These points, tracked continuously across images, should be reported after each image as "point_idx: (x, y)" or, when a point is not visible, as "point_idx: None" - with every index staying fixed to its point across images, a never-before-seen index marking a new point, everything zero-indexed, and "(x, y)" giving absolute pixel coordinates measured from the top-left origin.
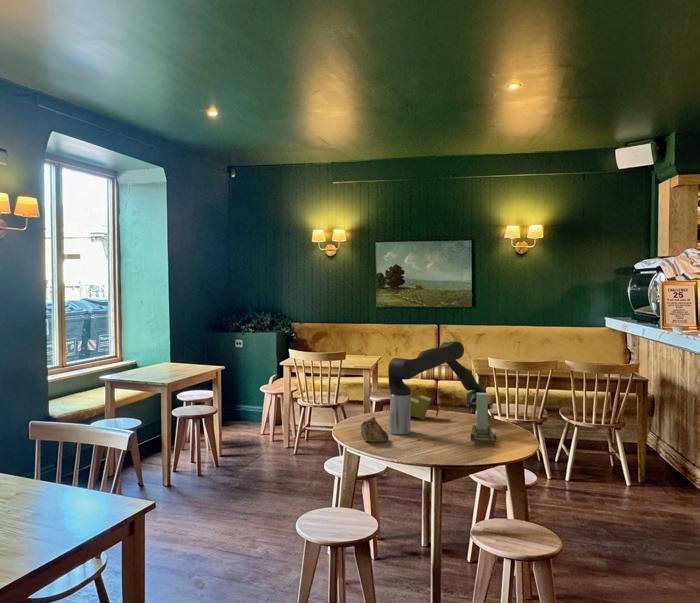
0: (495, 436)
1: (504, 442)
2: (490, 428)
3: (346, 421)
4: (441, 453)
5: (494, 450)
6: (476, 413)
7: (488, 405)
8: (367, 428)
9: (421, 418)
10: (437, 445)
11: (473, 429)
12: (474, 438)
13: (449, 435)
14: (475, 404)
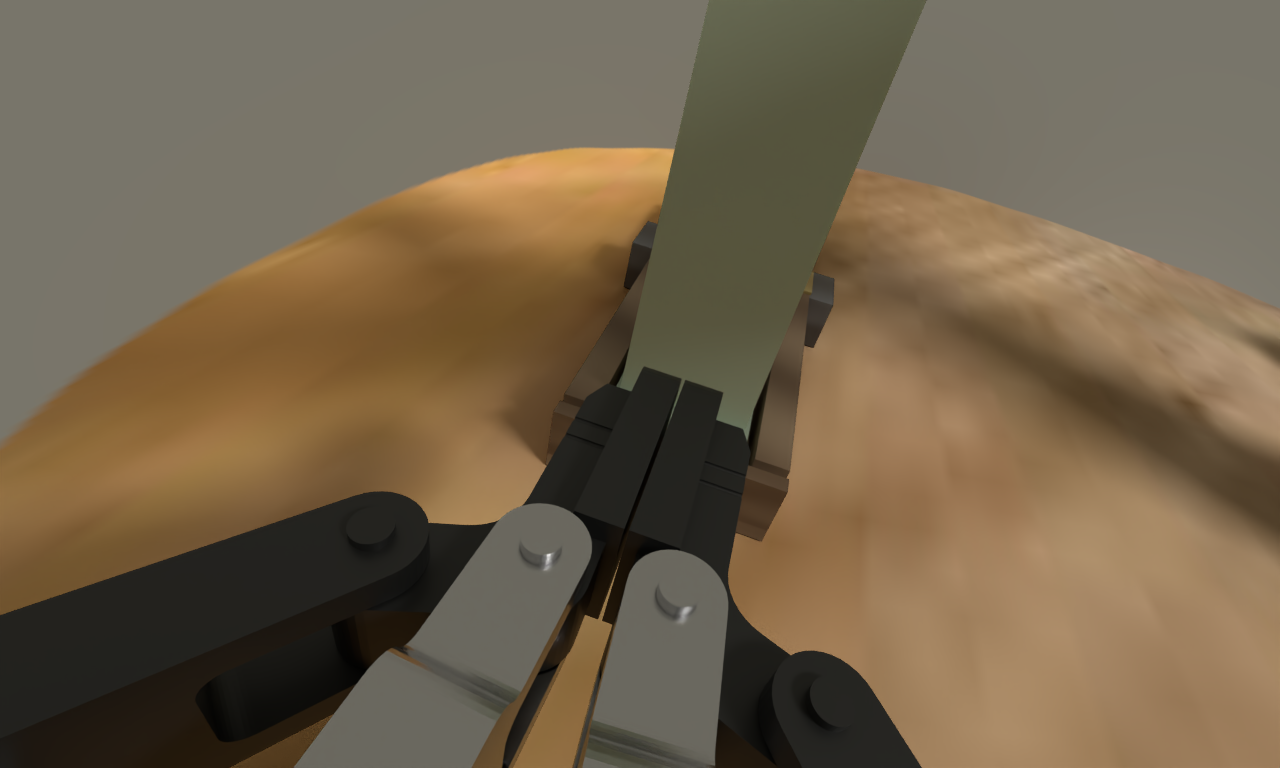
0: (652, 226)
1: (579, 250)
2: (596, 351)
3: None
4: (971, 239)
5: None
6: (804, 285)
7: (184, 606)
8: None
9: None
10: (1023, 309)
11: (795, 363)
12: None
13: (1000, 452)
14: (776, 671)
